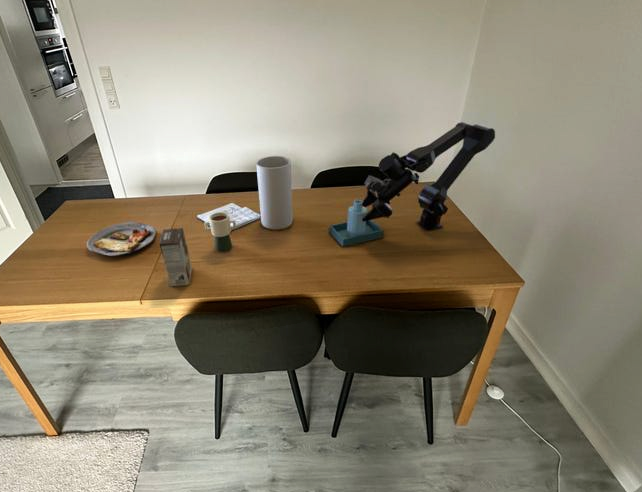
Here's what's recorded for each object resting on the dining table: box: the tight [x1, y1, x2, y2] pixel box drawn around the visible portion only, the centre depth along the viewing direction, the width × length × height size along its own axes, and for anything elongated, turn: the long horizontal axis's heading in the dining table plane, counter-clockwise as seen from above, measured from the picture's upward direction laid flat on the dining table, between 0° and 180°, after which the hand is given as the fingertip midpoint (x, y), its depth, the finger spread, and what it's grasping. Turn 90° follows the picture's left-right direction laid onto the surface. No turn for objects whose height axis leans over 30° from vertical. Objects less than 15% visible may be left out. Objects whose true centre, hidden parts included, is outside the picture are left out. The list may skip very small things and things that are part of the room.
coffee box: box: [158, 227, 193, 287], centre depth 119 cm, size 9×6×16 cm
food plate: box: [86, 221, 158, 257], centre depth 144 cm, size 25×23×4 cm
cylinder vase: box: [255, 155, 294, 231], centre depth 143 cm, size 12×12×25 cm
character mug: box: [204, 212, 237, 252], centre depth 133 cm, size 11×7×13 cm, turn 90°
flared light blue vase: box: [346, 199, 368, 237], centre depth 135 cm, size 6×6×13 cm
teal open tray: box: [328, 219, 384, 248], centre depth 138 cm, size 16×11×3 cm
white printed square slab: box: [197, 202, 261, 231], centre depth 155 cm, size 19×20×2 cm
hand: (360, 214), depth 134 cm, fingers open, 9 cm apart
